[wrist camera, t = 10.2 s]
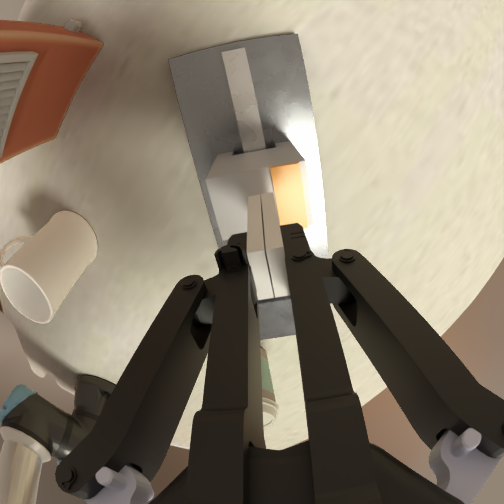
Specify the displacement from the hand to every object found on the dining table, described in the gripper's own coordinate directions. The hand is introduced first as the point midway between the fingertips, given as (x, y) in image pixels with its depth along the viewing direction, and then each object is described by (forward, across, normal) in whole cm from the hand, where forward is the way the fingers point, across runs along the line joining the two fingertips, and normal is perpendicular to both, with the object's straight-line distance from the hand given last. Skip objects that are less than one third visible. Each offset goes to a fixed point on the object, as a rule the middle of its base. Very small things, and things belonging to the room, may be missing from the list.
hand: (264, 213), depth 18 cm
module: (+10, 0, 0) cm, 10 cm away
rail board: (+11, 0, -2) cm, 11 cm away
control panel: (+12, -19, +16) cm, 27 cm away
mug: (+12, -27, -2) cm, 29 cm away
